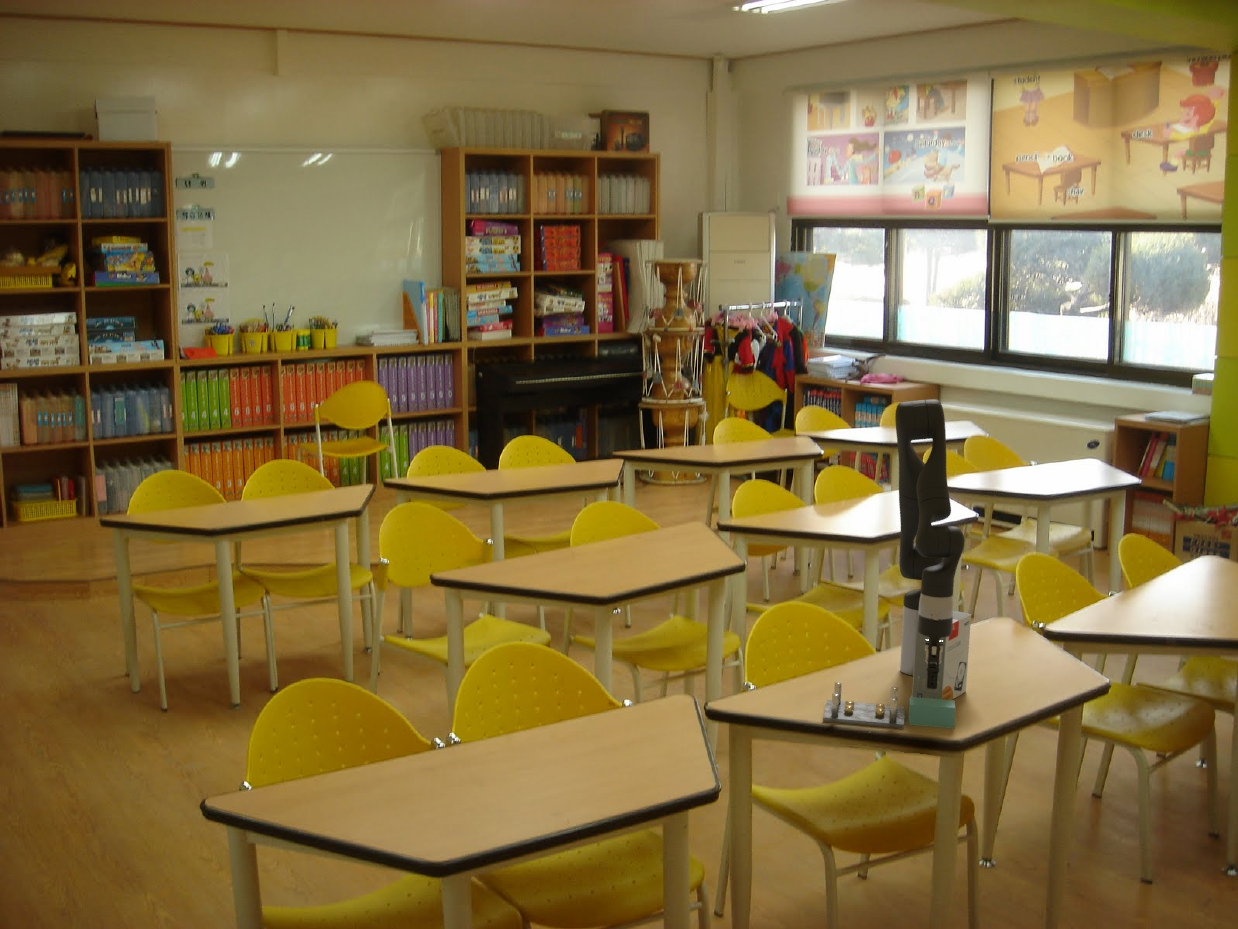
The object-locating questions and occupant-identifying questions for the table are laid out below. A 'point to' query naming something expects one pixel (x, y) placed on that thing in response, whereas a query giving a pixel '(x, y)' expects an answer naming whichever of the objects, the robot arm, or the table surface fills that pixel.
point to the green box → (931, 712)
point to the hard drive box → (944, 662)
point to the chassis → (864, 711)
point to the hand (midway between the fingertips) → (931, 682)
